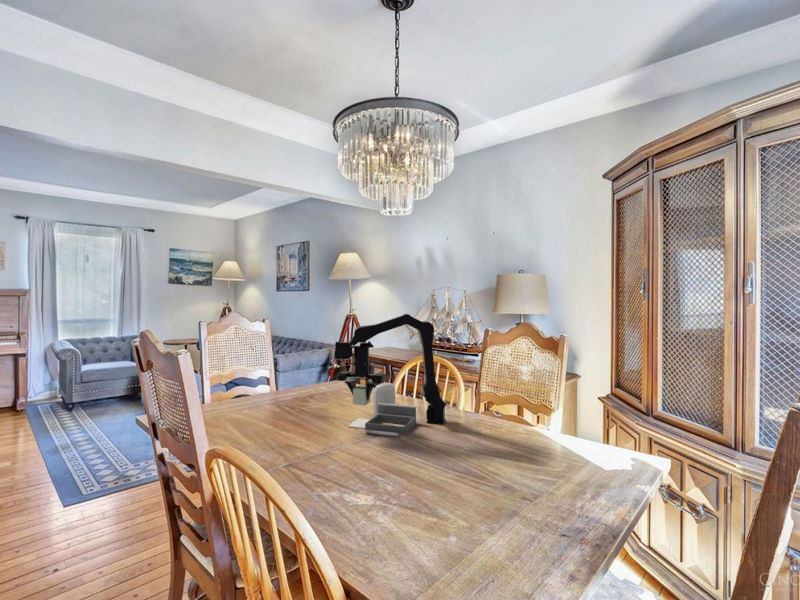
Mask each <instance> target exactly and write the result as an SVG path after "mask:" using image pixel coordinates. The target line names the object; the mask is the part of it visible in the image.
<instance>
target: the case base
mask: <svg viewBox="0 0 800 600" xmlns="http://www.w3.org/2000/svg"><path fill="white" fill-rule="evenodd" d="M378 422H384V423H392V424H393V423H394V424H403V425H404V424H405V425H404V426H400V425H391V424H380V423H378ZM415 424H416V423H415V417H411V416H401V415H391V414H380V413H377V414H375V415H374V416H373V417H372V418H370V419H369V421H368V422H366V423H365V429H364V430H365V431H366V429H367V430H376V431H385V432H394V433H398V434H399V435H407V433H408V432H409V431H411V429H412V428H413V427H414V426H415Z"/></svg>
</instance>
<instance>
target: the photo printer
mask: <svg viewBox="0 0 800 600" xmlns="http://www.w3.org/2000/svg"><path fill="white" fill-rule="evenodd" d="M395 386H396V385H394V383H390V382H383V383H379V384H378V385H376V386H375V387H373V388H374V389H373V413H374V414H375V415H377V413H378V403H385V404H396V387H395Z"/></svg>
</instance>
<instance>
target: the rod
mask: <svg viewBox="0 0 800 600" xmlns="http://www.w3.org/2000/svg"><path fill="white" fill-rule="evenodd" d="M365 434H368V435H377V436H385V437H386V436H387V437H394V438H399V435H400V434H398V433H394V432H385V431H376V430H367V429H366V430H365Z"/></svg>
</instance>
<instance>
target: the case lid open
mask: <svg viewBox="0 0 800 600" xmlns="http://www.w3.org/2000/svg"><path fill="white" fill-rule="evenodd" d="M378 413H380V414H391V415H401V416H411V417H415V424H417V405H416V406H415V405H406V404H396V403H395V404H385V403H378Z"/></svg>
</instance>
